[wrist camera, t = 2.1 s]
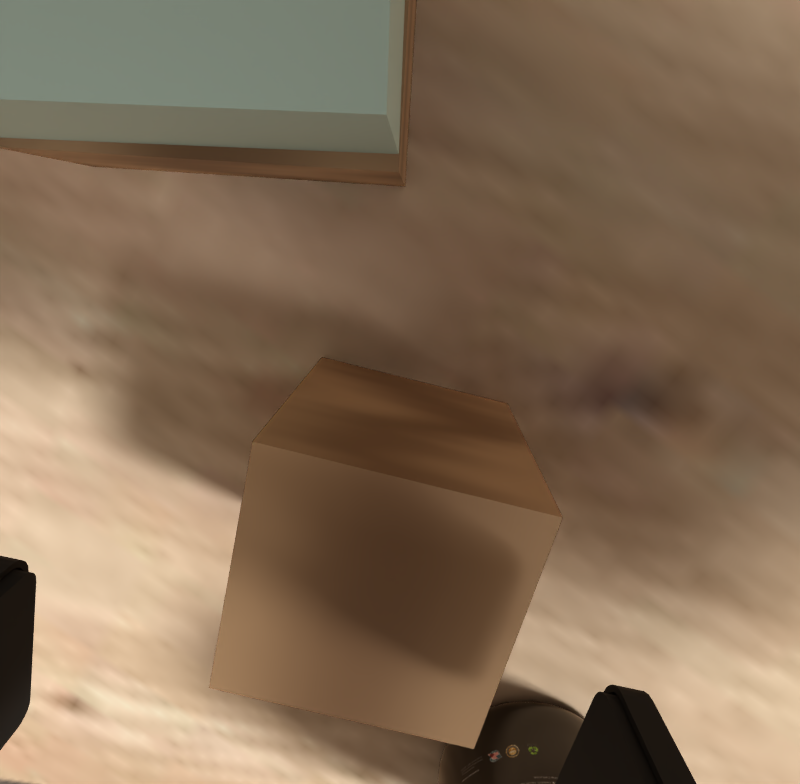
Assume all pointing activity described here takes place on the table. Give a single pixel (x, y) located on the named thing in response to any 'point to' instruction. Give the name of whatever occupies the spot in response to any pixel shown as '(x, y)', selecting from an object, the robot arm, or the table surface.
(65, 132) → the tower top slab
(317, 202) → the table surface
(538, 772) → the supplement bottle
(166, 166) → the tower base slab
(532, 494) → the walnut block
